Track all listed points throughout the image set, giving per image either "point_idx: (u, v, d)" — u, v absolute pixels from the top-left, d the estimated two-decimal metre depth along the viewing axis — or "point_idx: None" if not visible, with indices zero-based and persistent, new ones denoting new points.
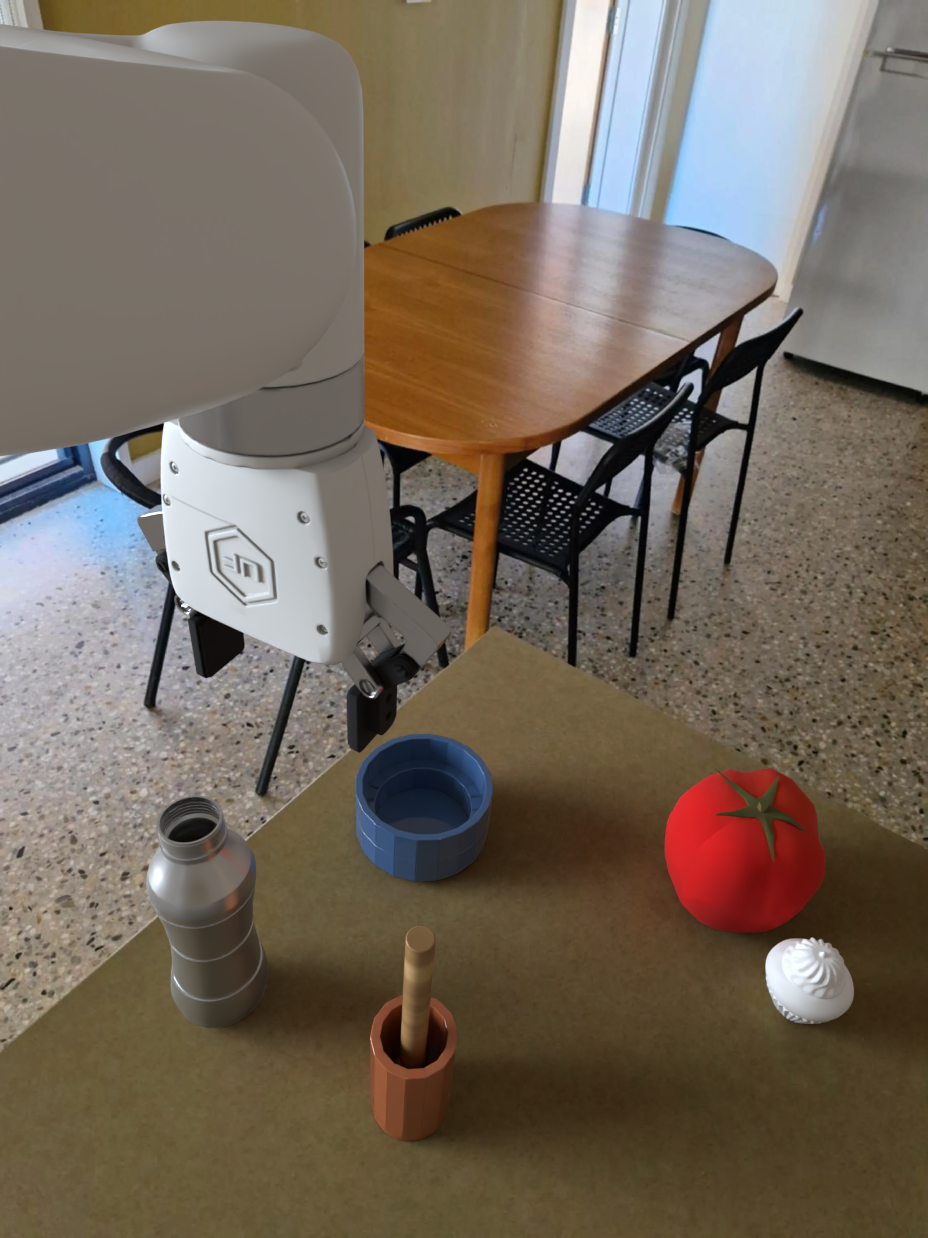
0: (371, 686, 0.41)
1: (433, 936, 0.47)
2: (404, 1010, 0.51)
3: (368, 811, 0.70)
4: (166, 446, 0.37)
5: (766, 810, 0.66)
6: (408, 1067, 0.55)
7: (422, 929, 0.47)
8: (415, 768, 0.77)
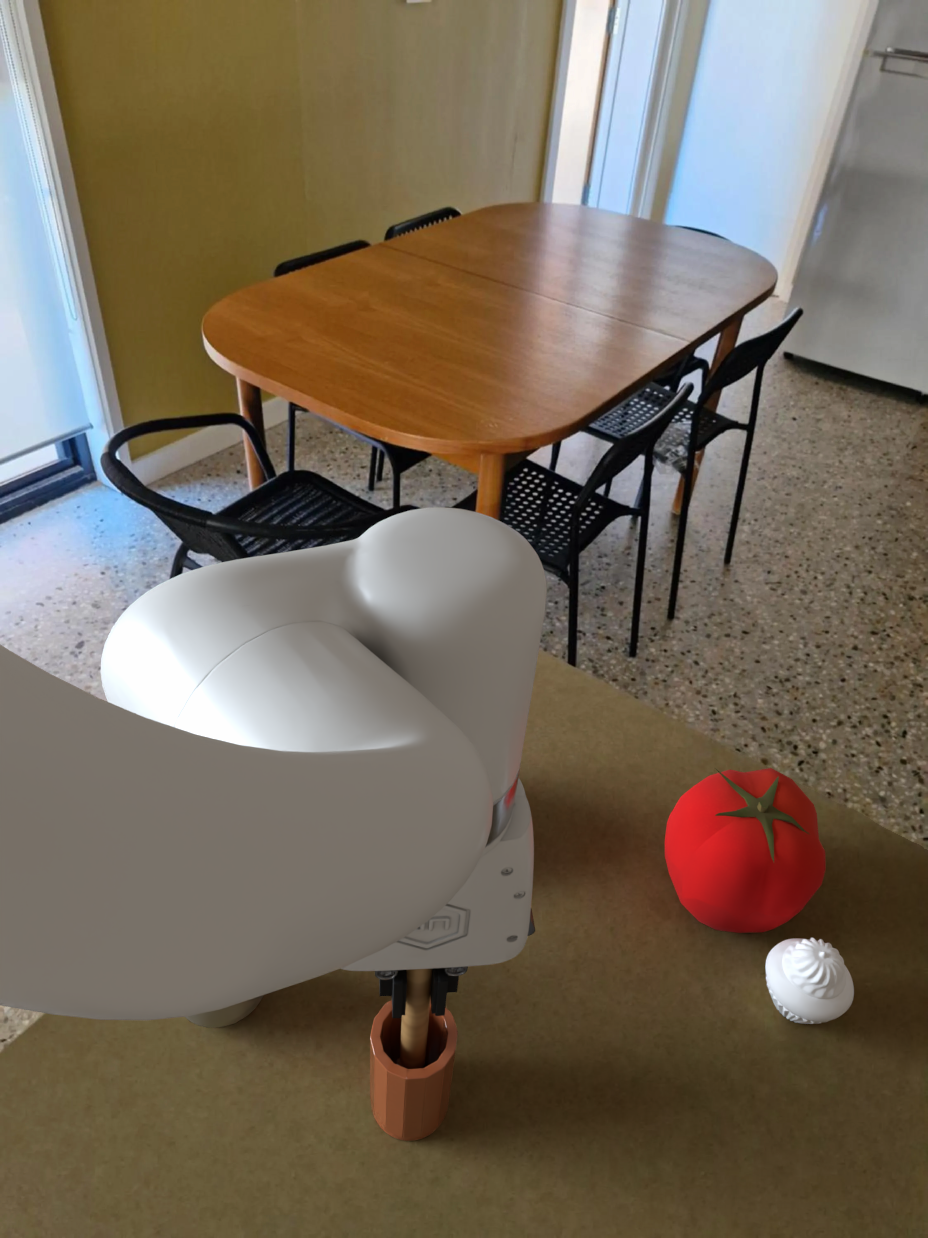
0: (459, 967, 0.47)
1: None
2: None
3: None
4: None
5: (766, 810, 0.66)
6: (408, 1067, 0.55)
7: None
8: None
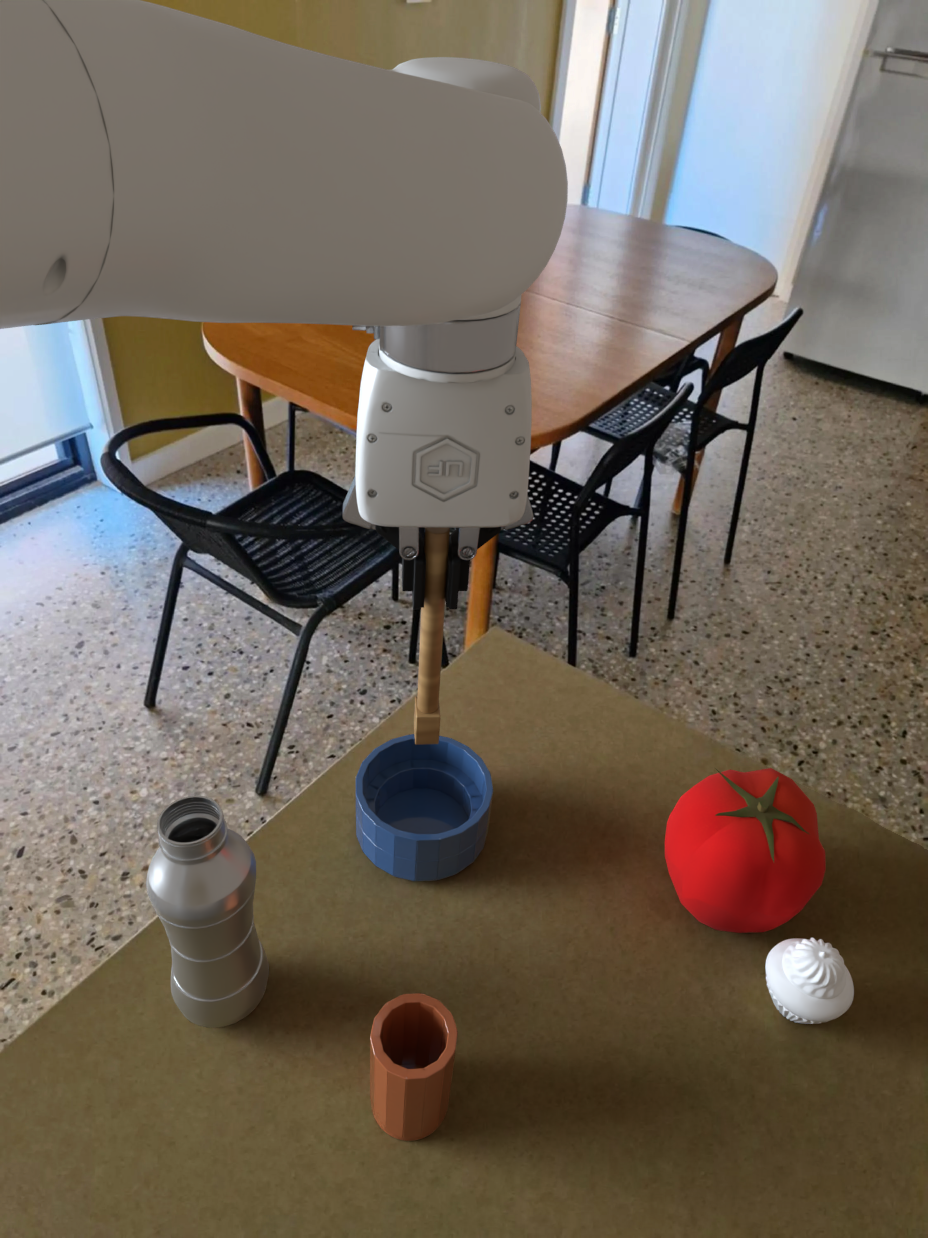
0: (470, 549, 0.56)
1: None
2: (422, 614, 0.60)
3: (368, 811, 0.70)
4: (379, 392, 0.47)
5: (766, 810, 0.66)
6: (425, 687, 0.64)
7: None
8: (415, 768, 0.77)
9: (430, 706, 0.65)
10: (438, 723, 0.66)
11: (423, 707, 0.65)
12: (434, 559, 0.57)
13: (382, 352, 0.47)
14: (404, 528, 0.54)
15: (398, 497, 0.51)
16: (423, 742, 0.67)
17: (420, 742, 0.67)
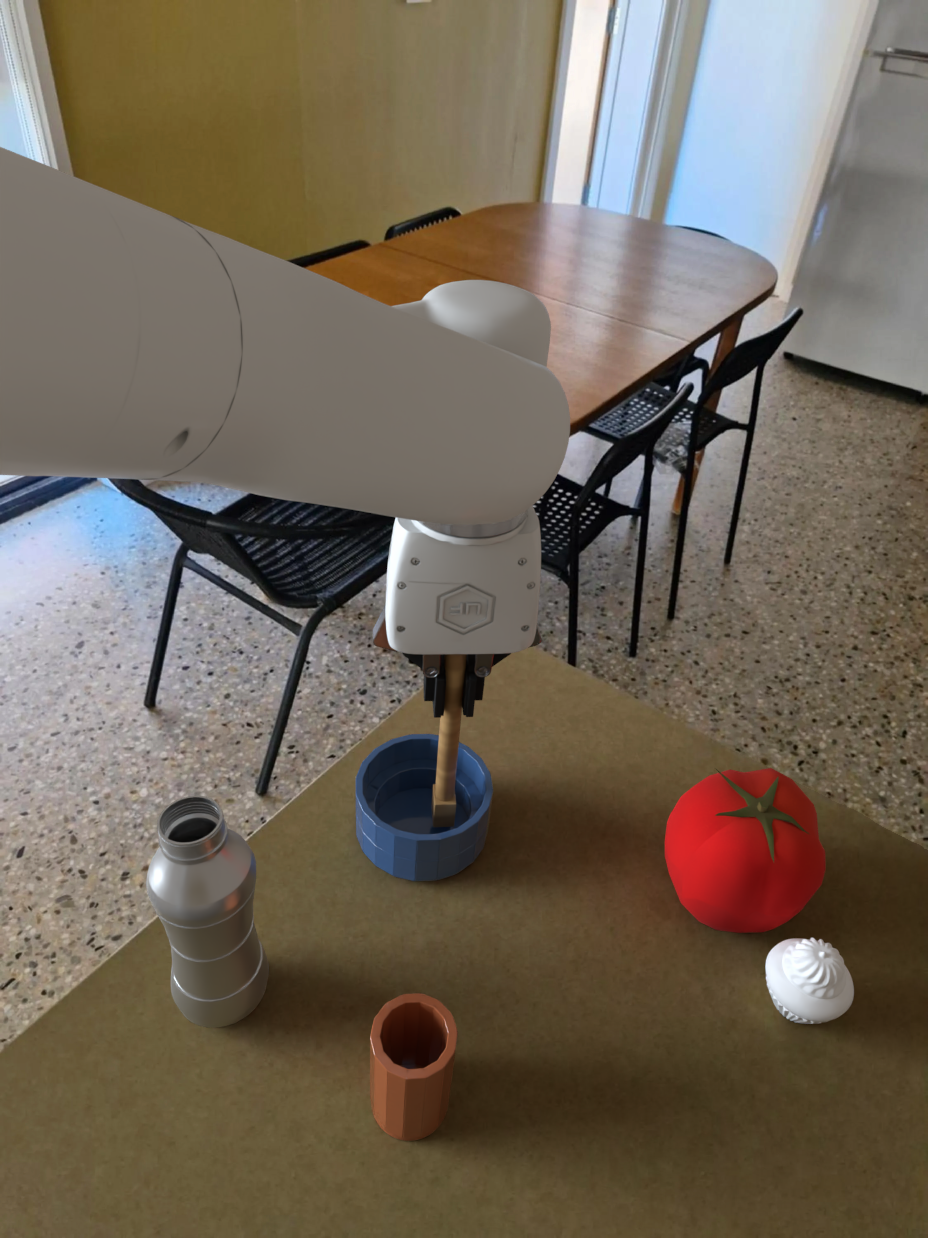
0: (485, 668, 0.63)
1: None
2: (442, 719, 0.67)
3: (368, 811, 0.70)
4: (409, 549, 0.54)
5: (766, 810, 0.66)
6: (443, 779, 0.71)
7: None
8: (415, 768, 0.77)
9: (447, 795, 0.72)
10: (454, 809, 0.73)
11: (441, 795, 0.72)
12: (453, 675, 0.64)
13: None
14: None
15: (423, 632, 0.58)
16: (440, 825, 0.74)
17: (437, 825, 0.74)
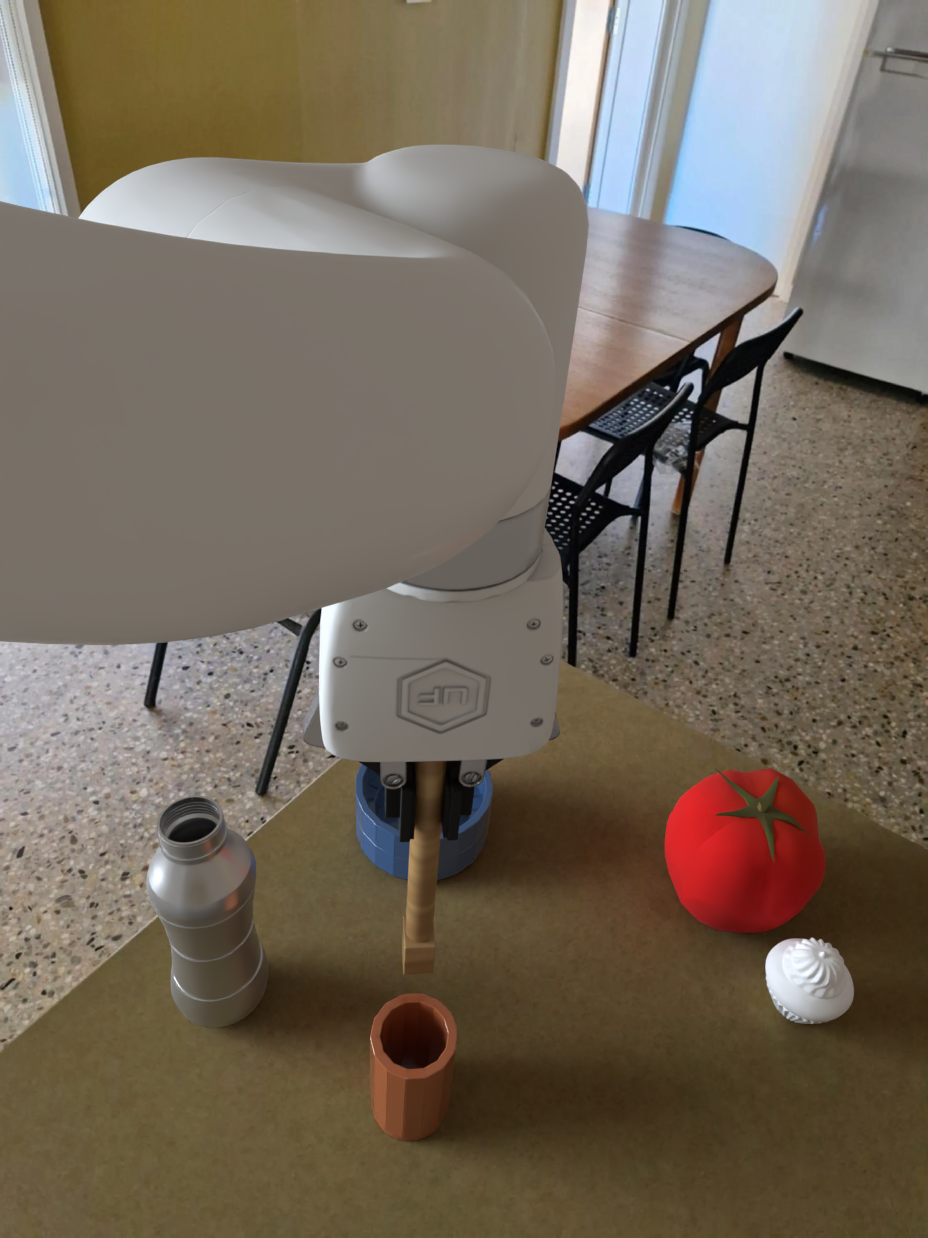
0: (475, 775, 0.42)
1: None
2: (412, 839, 0.46)
3: (368, 811, 0.70)
4: (349, 606, 0.33)
5: (766, 810, 0.66)
6: (416, 915, 0.50)
7: None
8: None
9: (422, 935, 0.51)
10: (432, 953, 0.52)
11: (413, 935, 0.51)
12: (427, 783, 0.43)
13: None
14: None
15: (378, 730, 0.37)
16: (413, 972, 0.53)
17: (409, 973, 0.53)
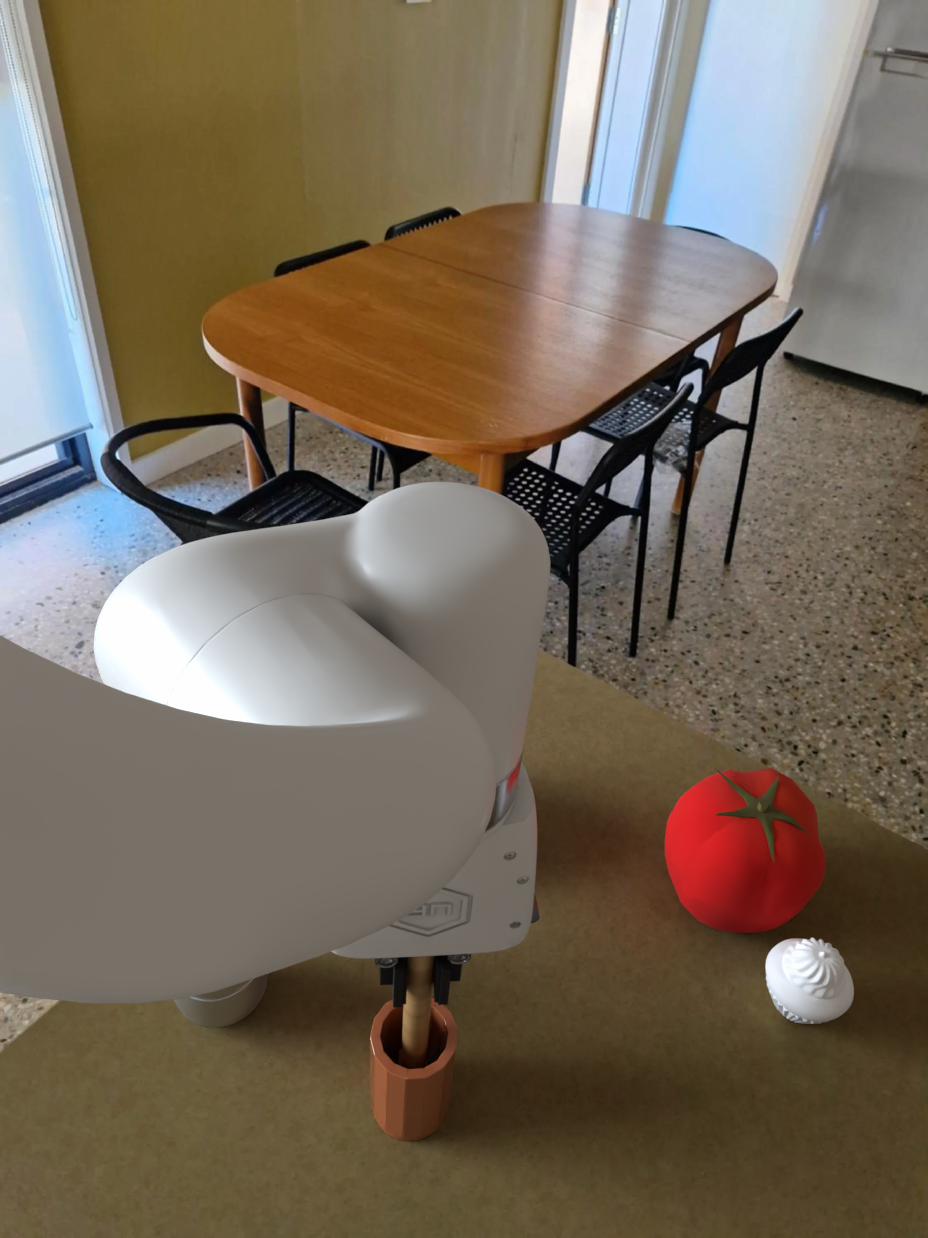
0: (463, 955, 0.46)
1: None
2: (406, 999, 0.50)
3: None
4: None
5: (766, 810, 0.66)
6: (410, 1057, 0.54)
7: None
8: None
9: None
10: None
11: None
12: (418, 959, 0.47)
13: None
14: None
15: (372, 936, 0.41)
16: None
17: None
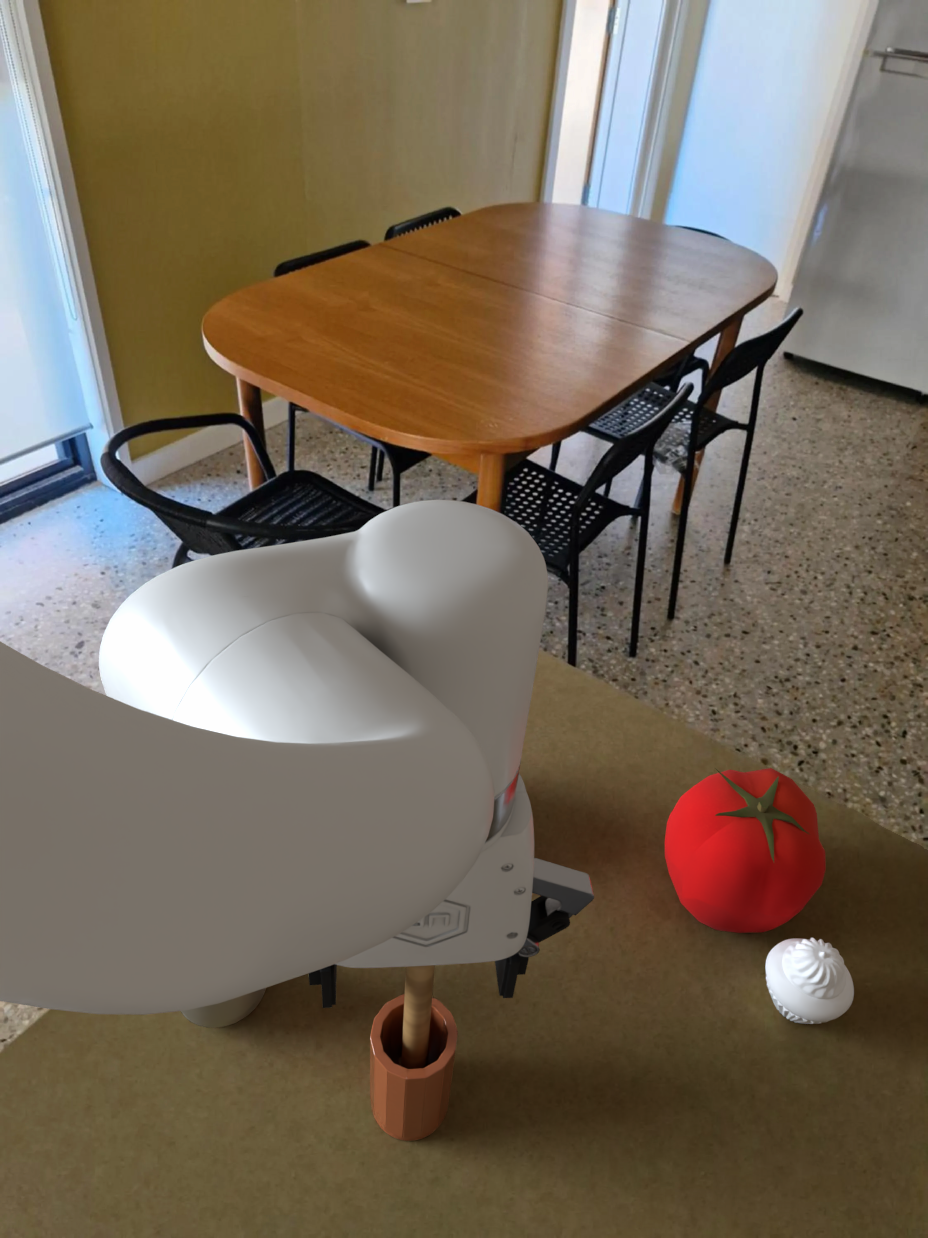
0: (532, 948, 0.46)
1: None
2: (406, 1008, 0.51)
3: None
4: None
5: (766, 810, 0.66)
6: (410, 1065, 0.55)
7: None
8: None
9: None
10: None
11: None
12: (419, 970, 0.48)
13: None
14: None
15: None
16: None
17: None
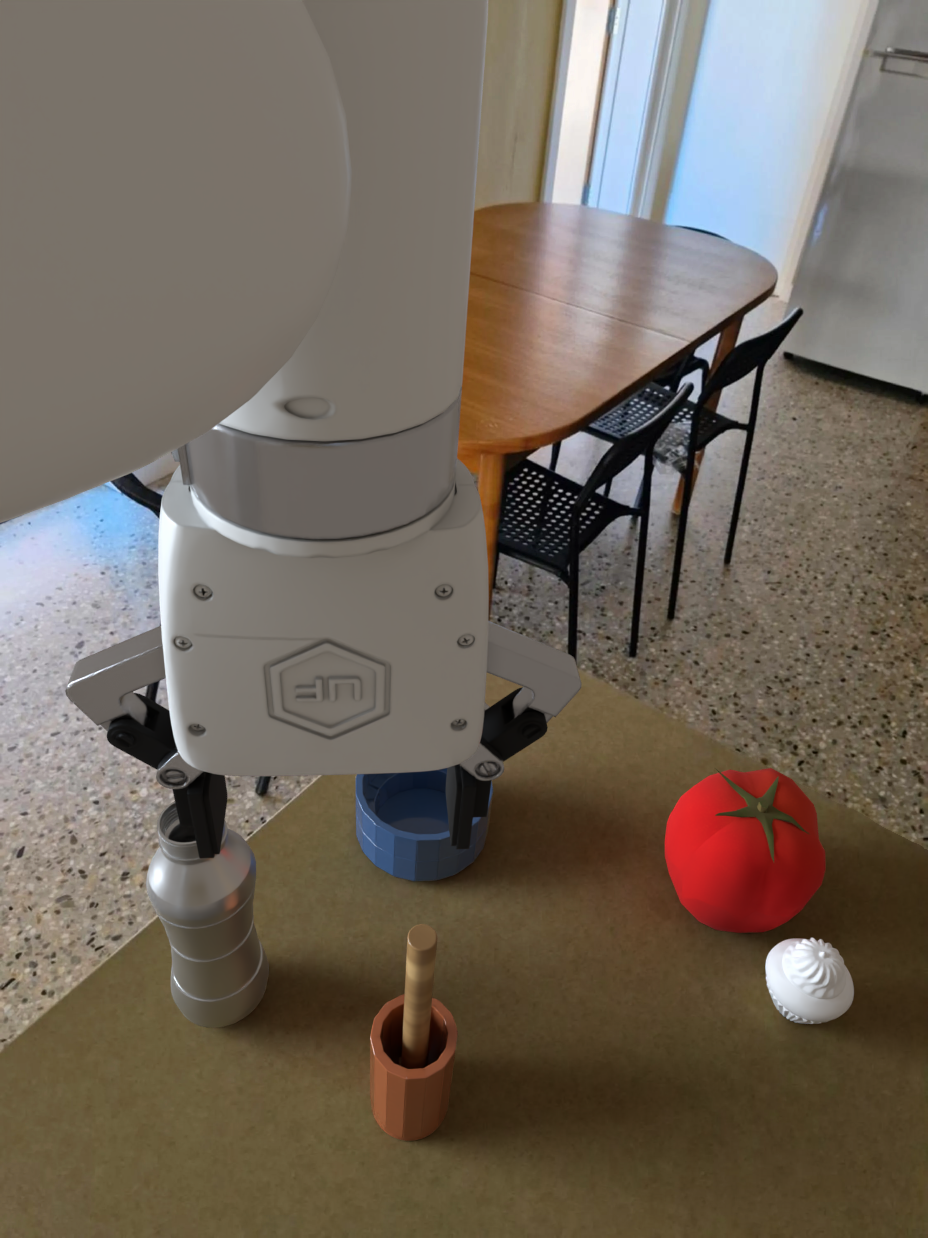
0: (493, 765, 0.32)
1: (435, 934, 0.47)
2: (406, 1008, 0.51)
3: (368, 811, 0.70)
4: (184, 565, 0.24)
5: (766, 810, 0.66)
6: (410, 1065, 0.55)
7: (424, 927, 0.47)
8: None
9: None
10: None
11: None
12: (419, 970, 0.48)
13: (191, 487, 0.24)
14: None
15: (246, 735, 0.28)
16: None
17: None
